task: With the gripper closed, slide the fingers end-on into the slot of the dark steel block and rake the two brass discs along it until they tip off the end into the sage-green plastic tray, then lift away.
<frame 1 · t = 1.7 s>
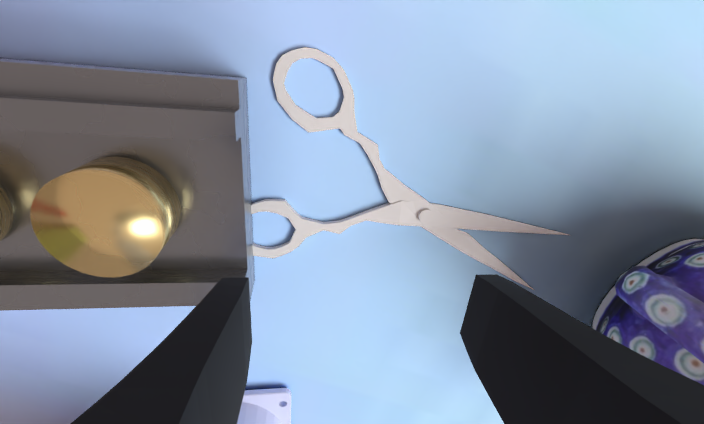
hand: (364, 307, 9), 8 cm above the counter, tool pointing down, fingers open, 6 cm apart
slot block: (85, 186, 15), on the counter
scissors: (407, 208, 18), on the counter
teapot: (657, 302, 23), on the counter
brass disc 1: (126, 205, 13), point 2 cm above the counter, touching slot block
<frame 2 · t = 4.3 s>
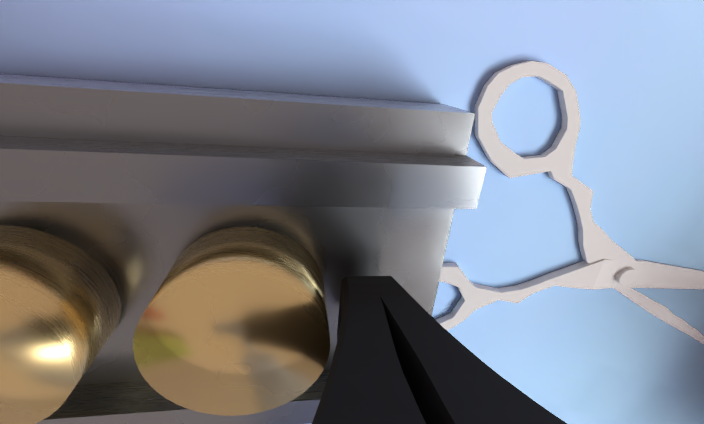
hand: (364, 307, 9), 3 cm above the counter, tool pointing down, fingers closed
slot block: (203, 255, 10), on the counter
brass disc 2: (30, 298, 8), point 2 cm above the counter, touching slot block
scissors: (592, 263, 14), on the counter
brass disc 1: (249, 293, 9), point 2 cm above the counter, touching gripper
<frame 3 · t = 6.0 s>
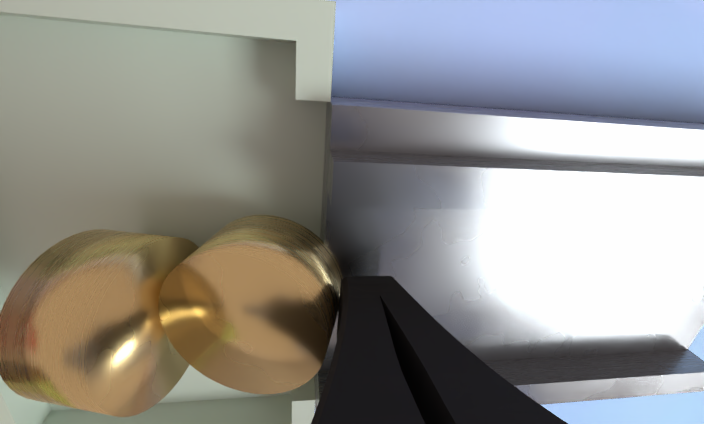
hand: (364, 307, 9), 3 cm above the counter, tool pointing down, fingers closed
slot block: (511, 254, 12), on the counter
brass disc 2: (164, 320, 8), point 3 cm above the counter, tilted 107°, touching brass disc 1
tray: (156, 254, 10), on the counter
brass disc 1: (273, 280, 9), point 2 cm above the counter, tilted 17°, touching brass disc 2, gripper
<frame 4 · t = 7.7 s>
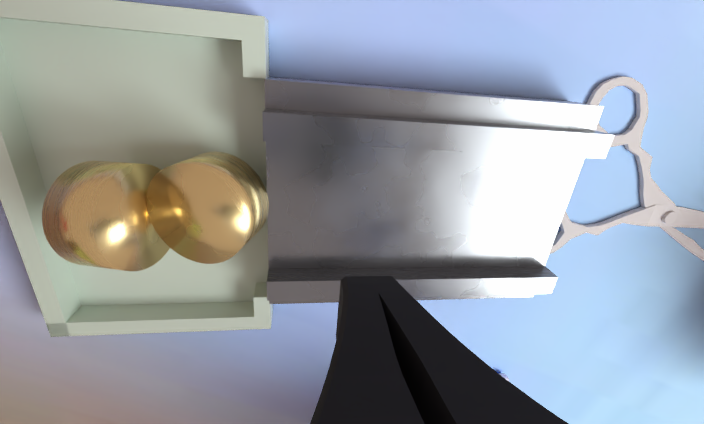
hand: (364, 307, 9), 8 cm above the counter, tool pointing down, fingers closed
slot block: (413, 194, 17), on the counter
brass disc 2: (144, 217, 12), point 3 cm above the counter, tilted 109°, touching brass disc 1, tray
scissors: (644, 210, 20), on the counter
tray: (156, 187, 15), on the counter
brass disc 1: (224, 198, 14), point 1 cm above the counter, tilted 19°, touching brass disc 2, slot block
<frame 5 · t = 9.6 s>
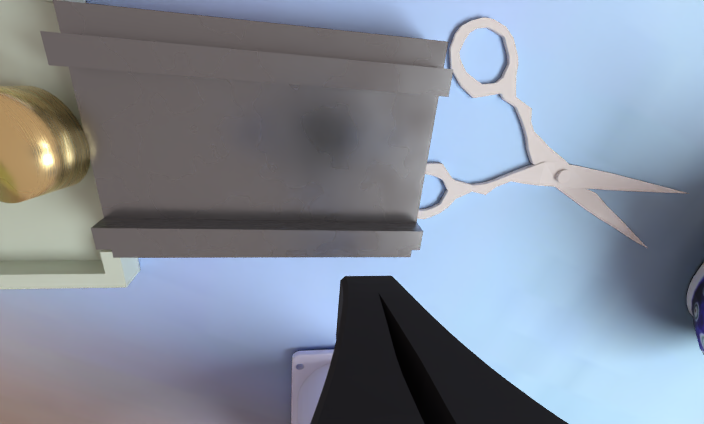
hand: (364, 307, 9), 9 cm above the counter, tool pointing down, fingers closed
slot block: (273, 145, 16), on the counter
scissors: (540, 170, 19), on the counter
brass disc 1: (45, 138, 13), point 1 cm above the counter, tilted 19°, touching brass disc 2, slot block
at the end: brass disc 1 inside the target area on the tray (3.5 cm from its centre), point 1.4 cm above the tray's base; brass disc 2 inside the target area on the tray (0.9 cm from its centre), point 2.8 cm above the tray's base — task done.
